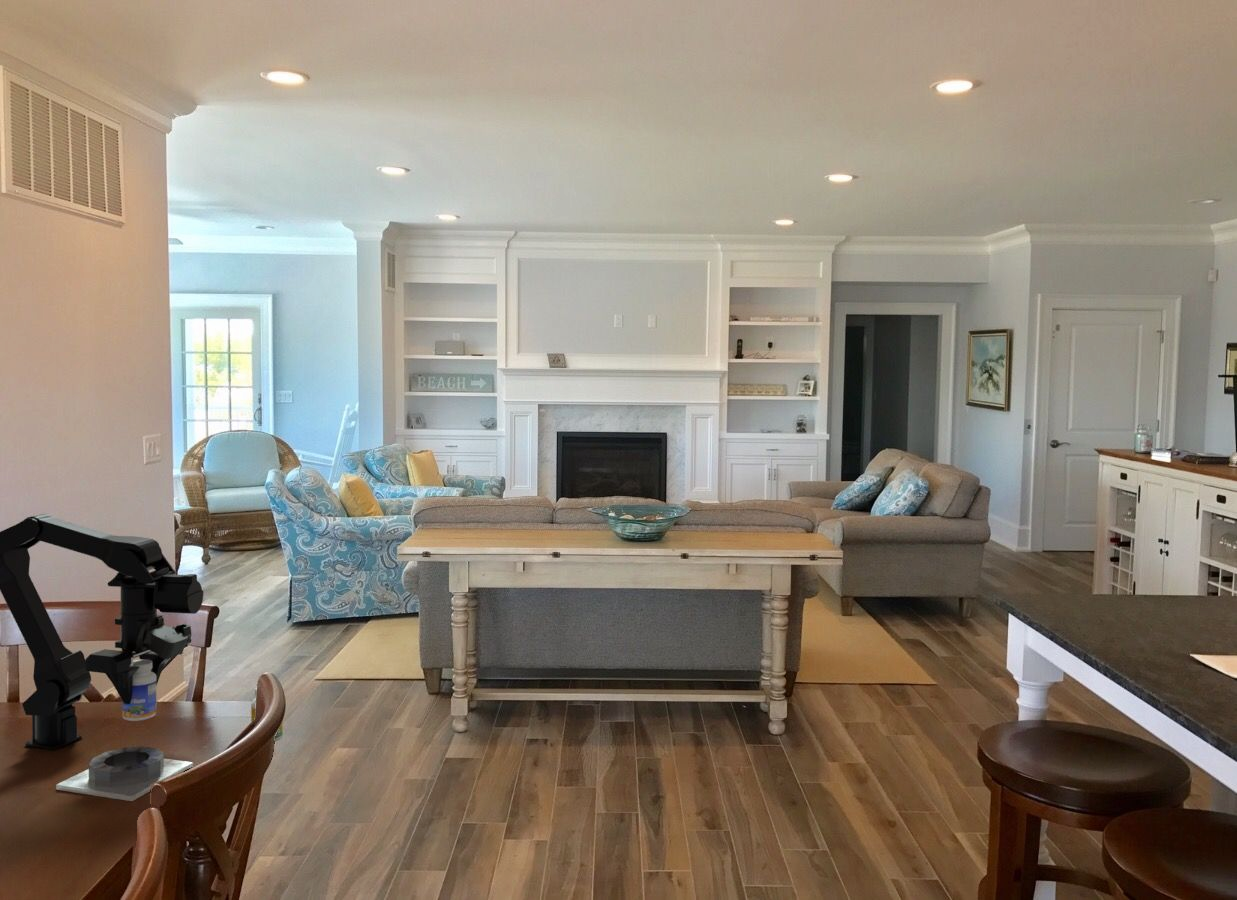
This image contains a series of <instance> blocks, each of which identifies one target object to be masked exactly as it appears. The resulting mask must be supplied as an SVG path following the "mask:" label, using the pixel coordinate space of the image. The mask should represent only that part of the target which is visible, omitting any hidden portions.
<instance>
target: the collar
mask: <svg viewBox="0 0 1237 900" xmlns="http://www.w3.org/2000/svg"><path fill="white" fill-rule="evenodd" d="M164 755H165V754H164V752H163V751H161V749H159V748H157V747H150V746H143V745H142V746H129V747H121V748H117V749H113V750H108V751H105V752H103V753H101V754H98V755H97V756H94V757H92V759H91V760H90V762H89V763H88V769H86V770H84V771H81V772H80V773H78V774H76V775H73V776H70V777H68V778H66V779H65V780H63V781H61V782H59V783H57V784H56V786H55V787H56V788H55V789H56V790H57V791H62V792H63V791H64V792H70V793H77V794H83V795H89V796H94V797H102V798H108V799H115V800H121V801H126V802H133V801H136V800H137V799H138V798H139V799H140V797H143V796H144V795H146V794H148V793H149V792H151V791H150V788H151V786H152V785H153V784H154V783H155V782H159V781H162V780H164V779H166V778H169V777H171V776H173V775H176V774H178V773H181V772H183V771H185V770H187V769H189V768H190V769H192V768H193V767H194V762H191V761H185V760H177V759H171V758H165V757H164ZM191 767H192V768H191ZM190 769H189V770H190ZM187 771H188V770H187ZM185 772H186V771H185ZM183 773H184V772H183Z"/></svg>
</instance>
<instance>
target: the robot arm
mask: <svg viewBox="0 0 1237 900" xmlns="http://www.w3.org/2000/svg"><path fill="white" fill-rule="evenodd" d="M40 542H43V543H45V544H51V545H54V546H56V547H59V548H63V549H66V550H70V551H73V552H76V553H80V554H82V555H87V556H89V557H92V558H95V559H98V560H100V561H101V562H103V563H104V564H105V565H106V567H108V568H110V569H111V570H114V571H116V572H117V574H116V575H115V576H114V577H113V578H112V579H111V580H110V581H108V582H107V586H108V587H115V588H116V587H117V588H118V587H119V588H120V616H119V617H115V618H114V625H117V626H118V625H119V626H120V639H119V640H116V641H114V648H115V650H114V649H108V648H107V649H106V648H105V649H102V650H99V651H96V652H93V653H90V654H89V655H88V656H87V657H85V654H84V652H82V650H77V651H76V652H75V651H74V652H73V651H71V650H70V649H68V648H67V647H66V646H65V645H64V644H63V642H62V639H61V637H60V635H59V633H58V632H57V629H56V627H55V625H54V623H53V620H51V617H50V615H49V613H48V610H47V609H46V607H45V605H44V603H43V601H42V599H41V596H40V595H39V593H38V591H37V589H36V588H37V587H35V585H34V583H33V581H32V579H31V576H30V561H31V556H30V553H29V549H30V548H32V547H34V546H36V545H37V544H39V543H40ZM151 570H153V571H151ZM150 571H151V572H150ZM0 593H1V596H2V597H3V599H4V601H5V603H6V605H7V607H8V609H9V611H10V613H11V615H12V618H13V619H14V621H15V623H16V627H18V629H19V632H20V634H21V636H22V637H23V640H24V642H25V644H26V645H27V648H28V650H29V652H30V653H31V654H30V655H31V656H32V658H33V661H34V663H33V675H32V678H33V679H32V680H33V682H34V685H35V689H36V690H35V691H34V692H33V693H32V694H31V695H30V696H29V697H28V698H26V700H24V701H23V702H22V705H21V706H22V708H23V711H24V714H25V715H26V716H31V724H32V726H31V727H32V728H31V730H32V735H31V736H32V737H31V738H32V739H30V740H27V741H25V742H24V746H26V747H33V748H40V749H48V750H56V749H59V748H61V747H63V746H66V745H68V744H70V743H72V742H76V741H77V740H79V739H82V738H83V734H82V733H78V716H77V715H76V706H74V705H73V704H75V703H77V702H78V703H79V702H80V701H81V699H82V698H83V695H84V692H86V691H87V690H88V689H89V687H90V684H91V682H92V676H91V672H92V673H97V674H98V673H99V674H105V675H106V676H107V678H108V679H109V680H110V682H111V683H112V685H113V687H114V689H115V690H116V692H117V694H118V695H119V697H120V699H121V702H122V701H123V703H124V704H130V703H131V698H132V684H133V675H134V673H135V672H136V671H137V670H138V669H139V667H136V666H133V660H135V658H139V659H148V660H151V661H152V666H153V667H152V670H151V672H154V673H155V674H156V687H157V686H158V683H159V679H160V677H161V674H162V672H163V669H164V666H165V664H166V662H168V661H169V660H170V659H172V658H173V657H175V656H178V655H180V656H181V655H183V653H184V650H185V648H187V647H189V644H190V643H192V627H191V625H190V624H188V623H186V622H183V623H180V624H177V625H176V626H173V625H170V626H167V625H165V618H164V617H163V615H162V614H158V611H159V612H160V613H165V614H189V615H194V614H197V613H198V612H200V609H201V608H202V605H203V601H204V590H203V587H202V584H201V583H200V582H199V581H198V575H197V574H196V573H188V574H177V573H176V570H175V569H174V568H173V566H172V565H171V564H170V562H169V561H168V560H167V558H166V557H165V555H164V554H163V550H162V548H161V546H160V543H159V542H158V541H157V540H155V539H153V538H149V537H143V536H133V535H113V534H108V533H106V532H103V531H100V530H95V529H93V528H89V527H86V526H83V525H79V524H75V523H72V522H69V521H66V520H62V519H59V518H57V517H54V516H52V515H50V514H48V513H42V514H38V515H33V516H28V517H26V518H25V519H22V521H20V522H18V523H16V524H14V525H12V526H9V527H8V528H6V529H3V530H1V531H0ZM116 649H121V650H116Z"/></svg>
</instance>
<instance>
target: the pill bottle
mask: <svg viewBox="0 0 1237 900" xmlns="http://www.w3.org/2000/svg"><path fill="white" fill-rule="evenodd" d="M133 666H136V667H139V669H138V670H137V671H136V672H135V673H134V675H133V684H132V698H131V703H130V704H124V703H123V701H122V700H121V709H122V710H121V715H122V716H121V717H122V718H123V720H126V721H131V722H133V721H134V722H136V721H137V722H139V721H145V720H148V719H151V718H153V717H154V716H156V714H157V686H156V674H155V673H154V672H151V670H152V667H153V666H152V661H151V660H148V659H140V658H139V659H133Z"/></svg>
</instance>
